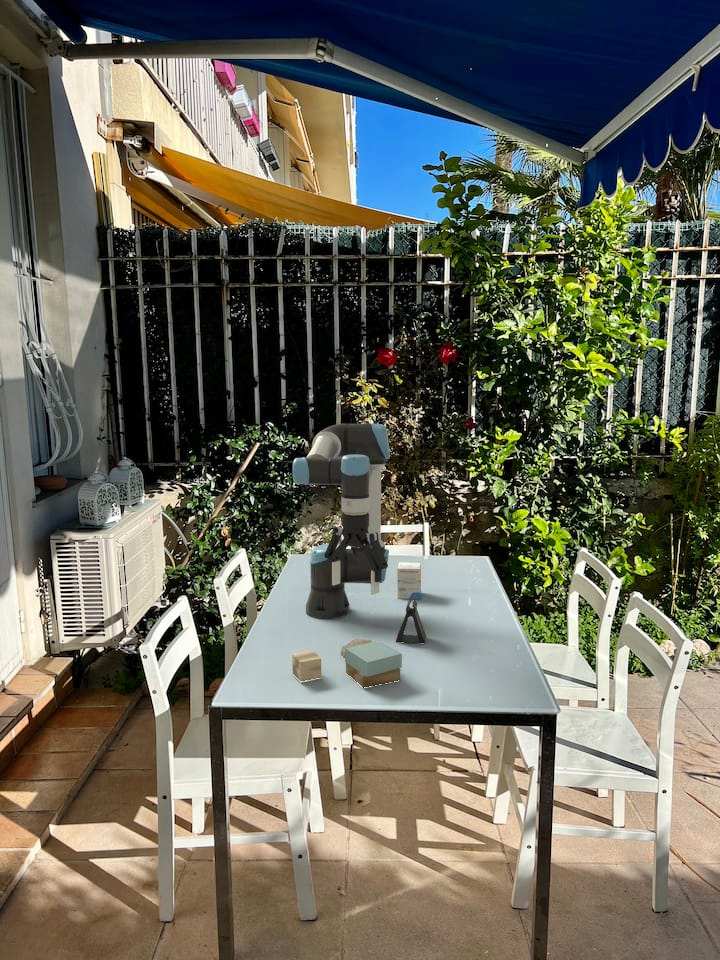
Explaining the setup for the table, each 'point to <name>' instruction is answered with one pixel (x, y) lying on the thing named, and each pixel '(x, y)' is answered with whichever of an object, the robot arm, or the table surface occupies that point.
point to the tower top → (373, 658)
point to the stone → (354, 643)
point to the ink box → (409, 580)
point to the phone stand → (418, 625)
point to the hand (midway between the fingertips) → (355, 588)
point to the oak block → (306, 665)
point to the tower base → (373, 677)
